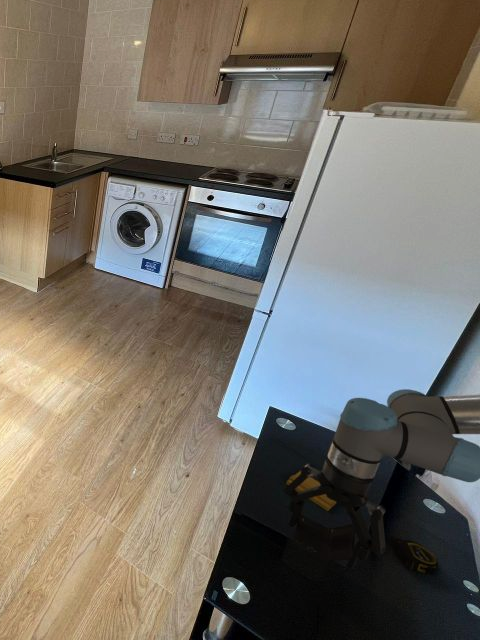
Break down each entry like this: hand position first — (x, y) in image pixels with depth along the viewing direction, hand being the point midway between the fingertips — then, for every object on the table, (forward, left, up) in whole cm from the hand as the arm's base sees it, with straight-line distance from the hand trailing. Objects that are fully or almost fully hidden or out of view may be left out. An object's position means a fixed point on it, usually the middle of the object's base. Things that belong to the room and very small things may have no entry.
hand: (320, 543), depth 93 cm
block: (+10, -27, -9) cm, 30 cm away
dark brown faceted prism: (0, 0, -1) cm, 1 cm away
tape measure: (-11, -24, -9) cm, 28 cm away
